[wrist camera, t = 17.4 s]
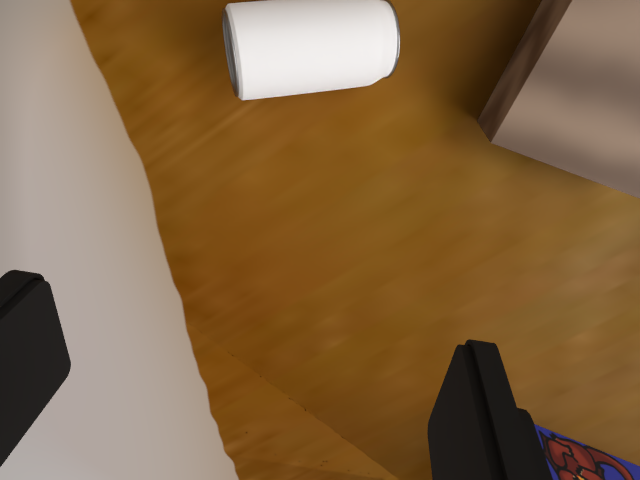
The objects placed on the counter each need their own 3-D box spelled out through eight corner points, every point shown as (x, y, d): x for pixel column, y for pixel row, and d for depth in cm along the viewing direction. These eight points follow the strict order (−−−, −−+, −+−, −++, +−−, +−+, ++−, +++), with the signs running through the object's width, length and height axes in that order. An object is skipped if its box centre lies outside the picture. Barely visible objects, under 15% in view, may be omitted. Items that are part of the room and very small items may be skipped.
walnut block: (572, -59, 33) (608, -63, 28) (738, 11, 34) (802, 20, 29) (476, 119, 40) (490, 142, 35) (615, 172, 41) (649, 201, 36)
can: (222, -10, 28) (398, -22, 31) (219, 17, 35) (366, 6, 37) (240, 96, 30) (406, 77, 33) (234, 104, 36) (374, 88, 39)
